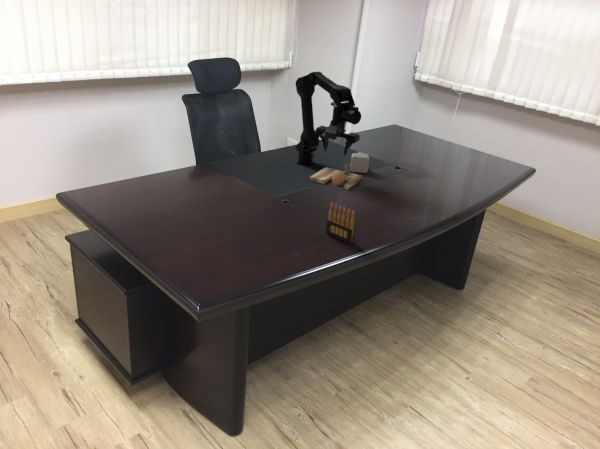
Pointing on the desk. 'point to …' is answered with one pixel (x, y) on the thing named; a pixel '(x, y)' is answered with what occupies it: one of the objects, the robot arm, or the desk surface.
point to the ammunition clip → (341, 223)
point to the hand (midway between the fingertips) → (335, 153)
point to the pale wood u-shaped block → (327, 175)
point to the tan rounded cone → (338, 177)
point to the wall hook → (359, 162)
